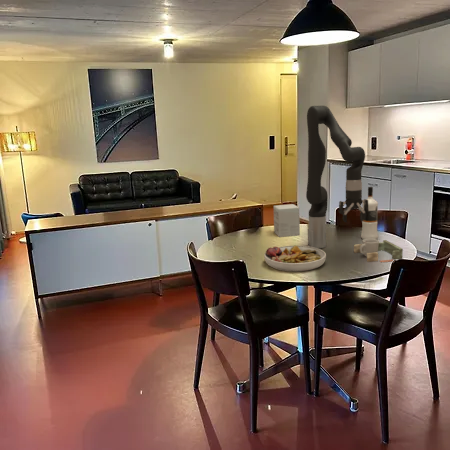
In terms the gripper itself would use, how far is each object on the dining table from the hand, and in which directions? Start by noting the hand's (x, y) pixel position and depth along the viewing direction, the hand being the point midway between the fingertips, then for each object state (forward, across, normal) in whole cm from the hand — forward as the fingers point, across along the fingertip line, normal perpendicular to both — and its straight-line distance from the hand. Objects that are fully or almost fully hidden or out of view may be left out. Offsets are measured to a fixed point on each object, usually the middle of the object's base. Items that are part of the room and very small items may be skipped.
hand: (353, 221), depth 216 cm
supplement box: (+18, -20, +56) cm, 62 cm away
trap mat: (+19, +13, -11) cm, 25 cm away
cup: (+19, +8, -1) cm, 20 cm away
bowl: (+19, -30, -1) cm, 36 cm away
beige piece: (+19, +12, -1) cm, 22 cm away
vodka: (+19, +22, +30) cm, 42 cm away
